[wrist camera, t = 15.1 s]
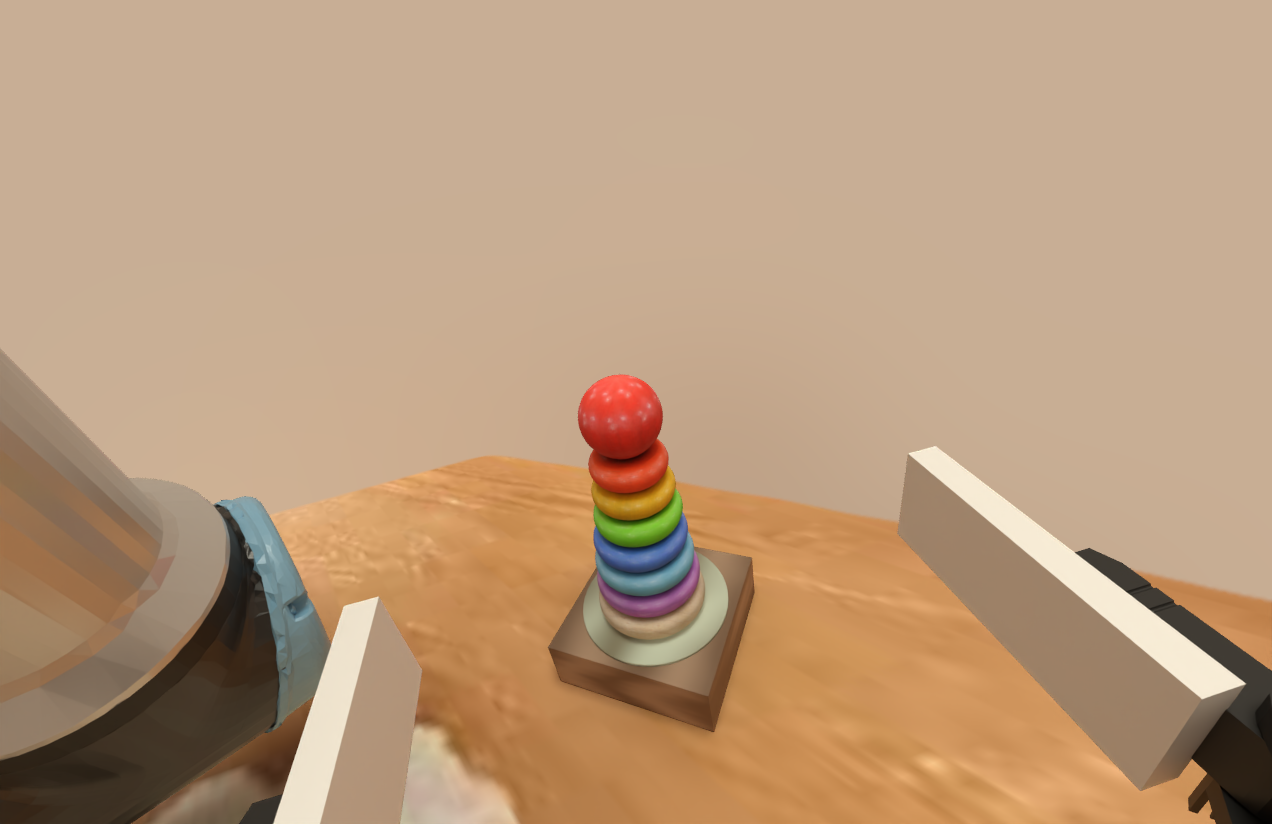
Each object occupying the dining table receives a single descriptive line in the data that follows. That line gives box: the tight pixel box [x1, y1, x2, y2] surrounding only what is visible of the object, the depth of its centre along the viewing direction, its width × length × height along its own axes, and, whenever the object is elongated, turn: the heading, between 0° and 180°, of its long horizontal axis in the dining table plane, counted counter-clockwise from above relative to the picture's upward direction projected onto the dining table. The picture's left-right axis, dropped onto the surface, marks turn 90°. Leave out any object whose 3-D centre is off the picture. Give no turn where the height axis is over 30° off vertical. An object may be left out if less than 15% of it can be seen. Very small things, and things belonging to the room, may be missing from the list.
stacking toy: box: [578, 375, 705, 640], centre depth 36 cm, size 8×8×19 cm
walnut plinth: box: [548, 547, 754, 732], centre depth 41 cm, size 12×12×4 cm
